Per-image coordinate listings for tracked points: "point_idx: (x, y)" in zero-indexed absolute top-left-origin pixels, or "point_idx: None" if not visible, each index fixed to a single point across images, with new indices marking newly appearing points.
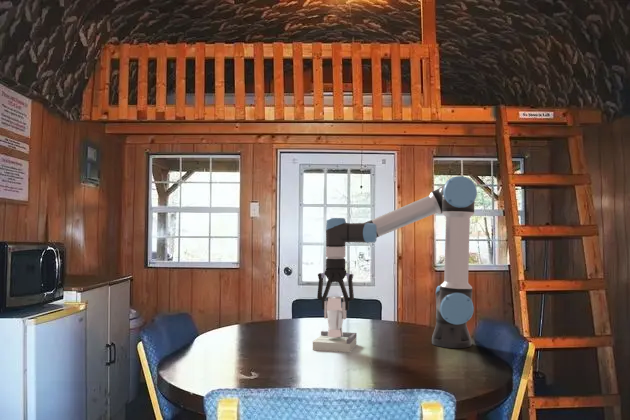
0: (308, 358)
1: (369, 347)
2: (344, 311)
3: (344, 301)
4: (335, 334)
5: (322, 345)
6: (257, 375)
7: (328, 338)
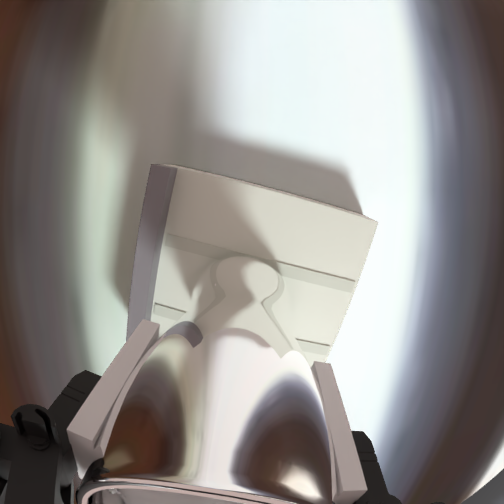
0: (377, 41)
1: (88, 277)
2: (119, 360)
3: None
4: (239, 265)
5: (320, 203)
6: None
7: None
